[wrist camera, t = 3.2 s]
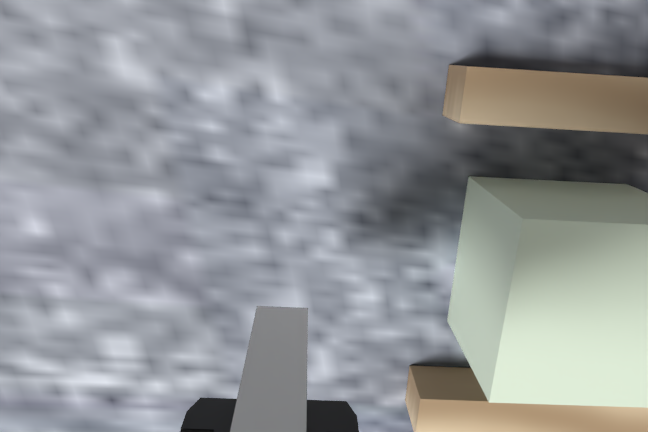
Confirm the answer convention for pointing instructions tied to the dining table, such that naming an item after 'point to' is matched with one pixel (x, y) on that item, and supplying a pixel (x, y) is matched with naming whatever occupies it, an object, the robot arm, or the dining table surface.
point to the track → (536, 112)
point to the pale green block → (554, 291)
